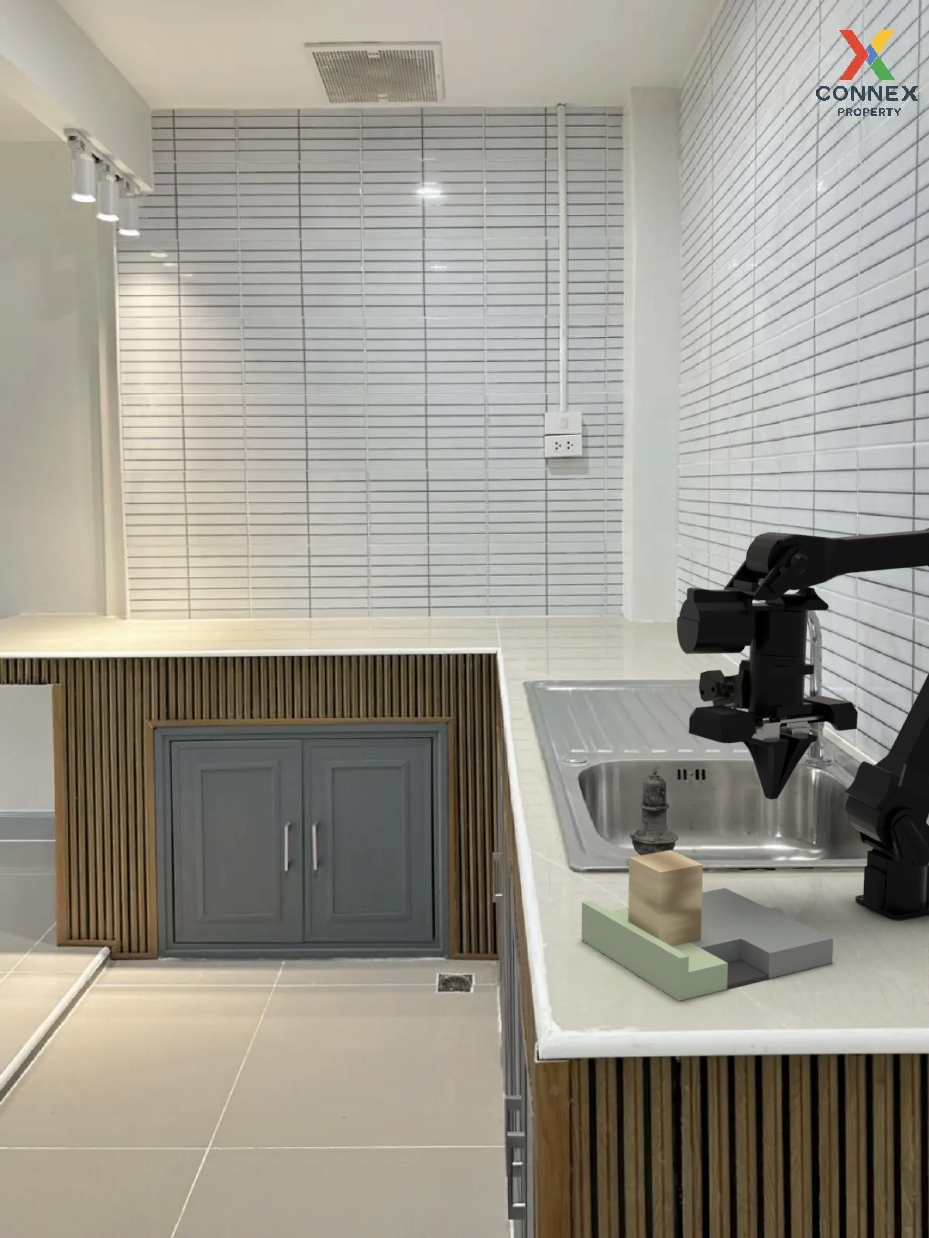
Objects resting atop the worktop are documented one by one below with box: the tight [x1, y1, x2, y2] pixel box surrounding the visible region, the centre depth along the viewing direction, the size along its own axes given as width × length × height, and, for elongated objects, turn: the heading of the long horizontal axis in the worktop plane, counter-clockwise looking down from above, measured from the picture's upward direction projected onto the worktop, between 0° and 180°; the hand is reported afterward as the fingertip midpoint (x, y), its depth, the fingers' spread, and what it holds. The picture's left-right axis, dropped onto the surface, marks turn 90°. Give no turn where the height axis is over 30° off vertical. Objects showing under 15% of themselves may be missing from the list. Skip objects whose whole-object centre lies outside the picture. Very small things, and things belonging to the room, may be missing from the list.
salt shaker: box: [629, 767, 679, 856], centre depth 142 cm, size 6×6×12 cm
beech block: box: [627, 850, 704, 946], centre depth 113 cm, size 5×5×8 cm
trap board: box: [581, 887, 834, 1002], centre depth 116 cm, size 18×16×4 cm
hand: (771, 798), depth 124 cm, fingers closed
